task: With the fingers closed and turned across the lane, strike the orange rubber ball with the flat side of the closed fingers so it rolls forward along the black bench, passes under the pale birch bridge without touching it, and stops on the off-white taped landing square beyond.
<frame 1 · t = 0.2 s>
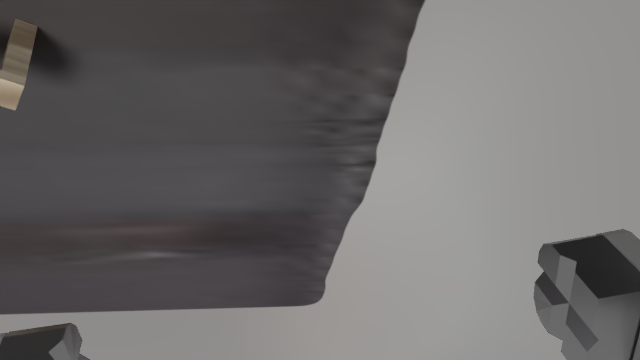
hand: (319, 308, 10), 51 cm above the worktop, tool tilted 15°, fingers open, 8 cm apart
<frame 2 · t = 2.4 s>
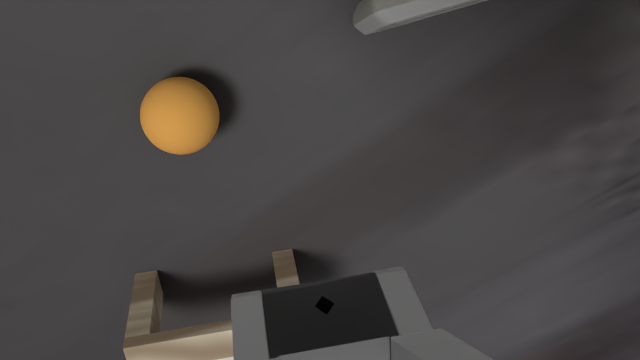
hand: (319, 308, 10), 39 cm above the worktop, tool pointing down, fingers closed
bridge: (217, 273, 58), on the worktop
ball: (180, 115, 46), on the worktop
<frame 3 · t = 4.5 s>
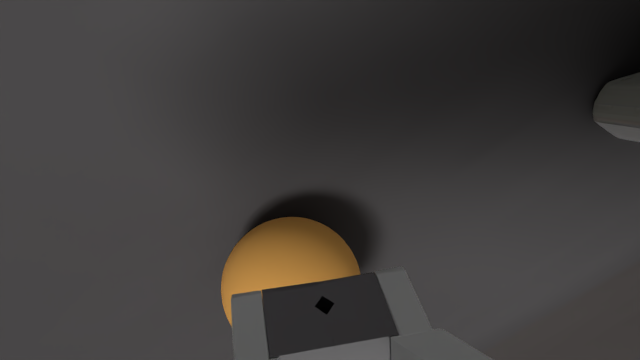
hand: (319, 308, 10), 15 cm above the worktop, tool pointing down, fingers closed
ball: (291, 286, 26), on the worktop
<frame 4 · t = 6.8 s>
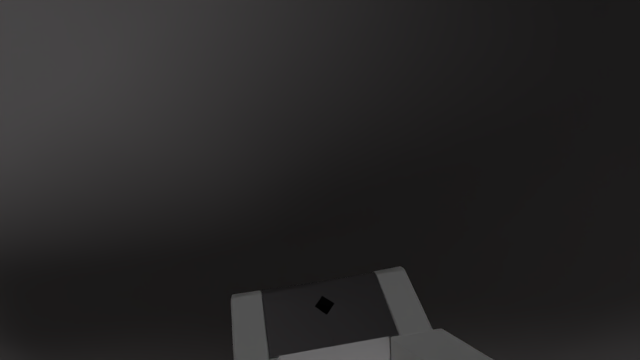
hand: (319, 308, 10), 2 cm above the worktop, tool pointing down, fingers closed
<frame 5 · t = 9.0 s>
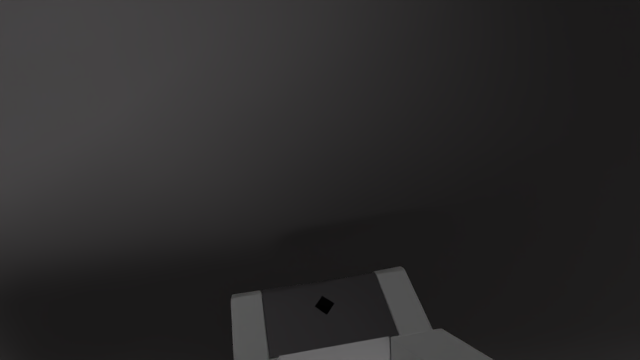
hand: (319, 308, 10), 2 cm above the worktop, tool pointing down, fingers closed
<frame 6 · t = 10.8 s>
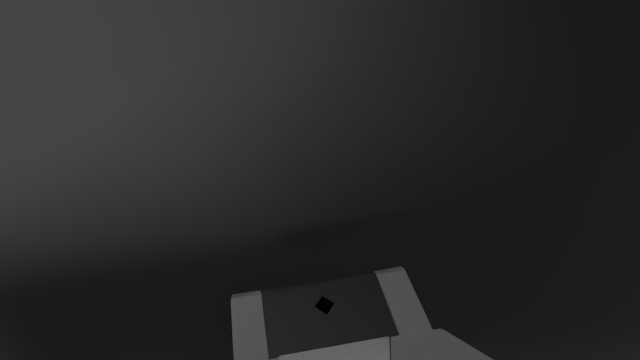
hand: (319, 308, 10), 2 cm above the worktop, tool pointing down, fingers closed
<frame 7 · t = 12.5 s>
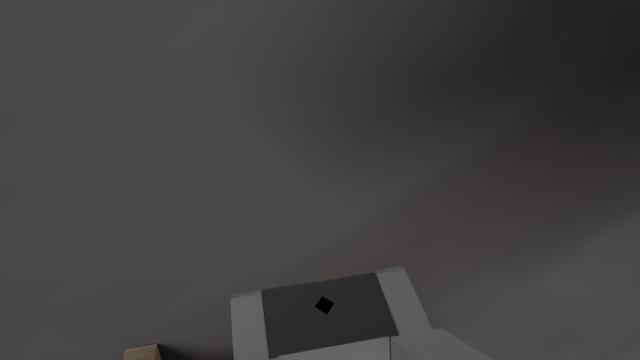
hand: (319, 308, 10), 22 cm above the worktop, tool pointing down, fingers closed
bridge: (245, 346, 40), on the worktop
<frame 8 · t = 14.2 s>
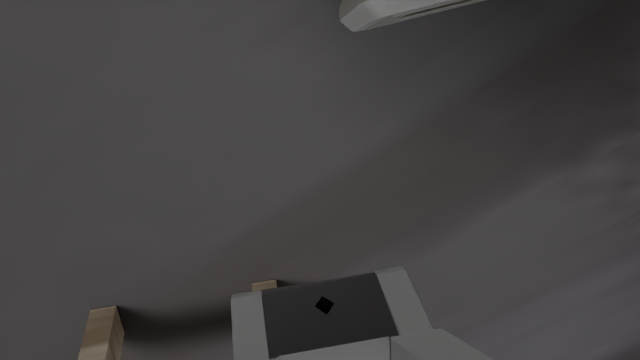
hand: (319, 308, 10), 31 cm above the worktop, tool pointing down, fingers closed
bridge: (188, 308, 49), on the worktop
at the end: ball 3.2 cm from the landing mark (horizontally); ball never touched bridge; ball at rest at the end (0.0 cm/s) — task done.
